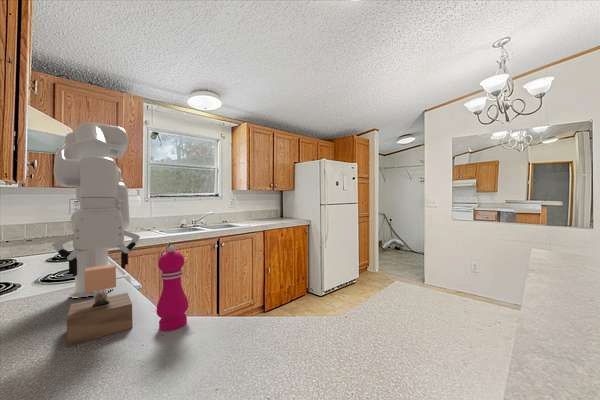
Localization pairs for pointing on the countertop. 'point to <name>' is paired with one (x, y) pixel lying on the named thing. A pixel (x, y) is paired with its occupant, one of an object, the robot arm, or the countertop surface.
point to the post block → (98, 319)
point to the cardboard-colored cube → (100, 278)
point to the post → (100, 298)
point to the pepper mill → (172, 292)
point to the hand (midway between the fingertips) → (100, 271)
